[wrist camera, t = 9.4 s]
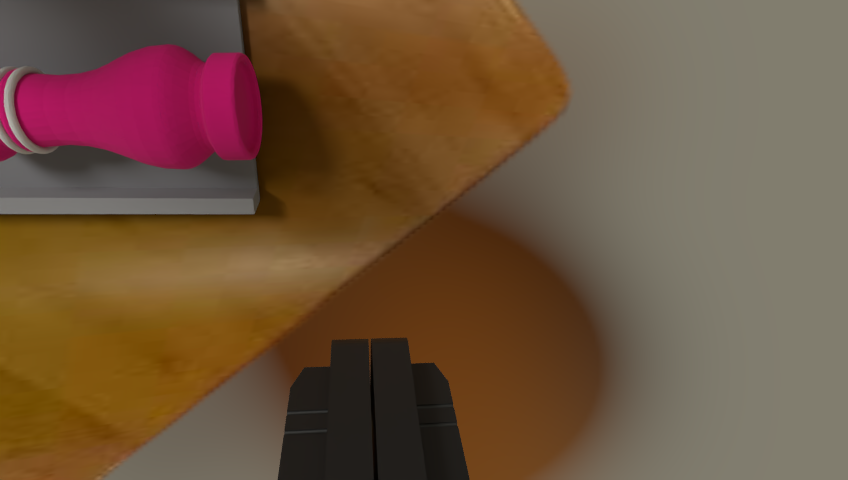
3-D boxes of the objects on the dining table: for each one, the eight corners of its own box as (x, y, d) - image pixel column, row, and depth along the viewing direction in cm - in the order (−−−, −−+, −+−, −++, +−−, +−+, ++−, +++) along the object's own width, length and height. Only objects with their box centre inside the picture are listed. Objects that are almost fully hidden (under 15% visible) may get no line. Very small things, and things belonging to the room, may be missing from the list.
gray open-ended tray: (-50, 198, 37) (-74, 213, 35) (-159, -66, 29) (-199, -66, 27) (259, 200, 39) (254, 214, 37) (234, -43, 32) (225, -42, 30)
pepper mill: (248, 24, 32) (-98, 27, 31) (222, 77, 27) (-197, 83, 26) (270, 129, 37) (-28, 134, 36) (251, 191, 32) (-100, 200, 30)
